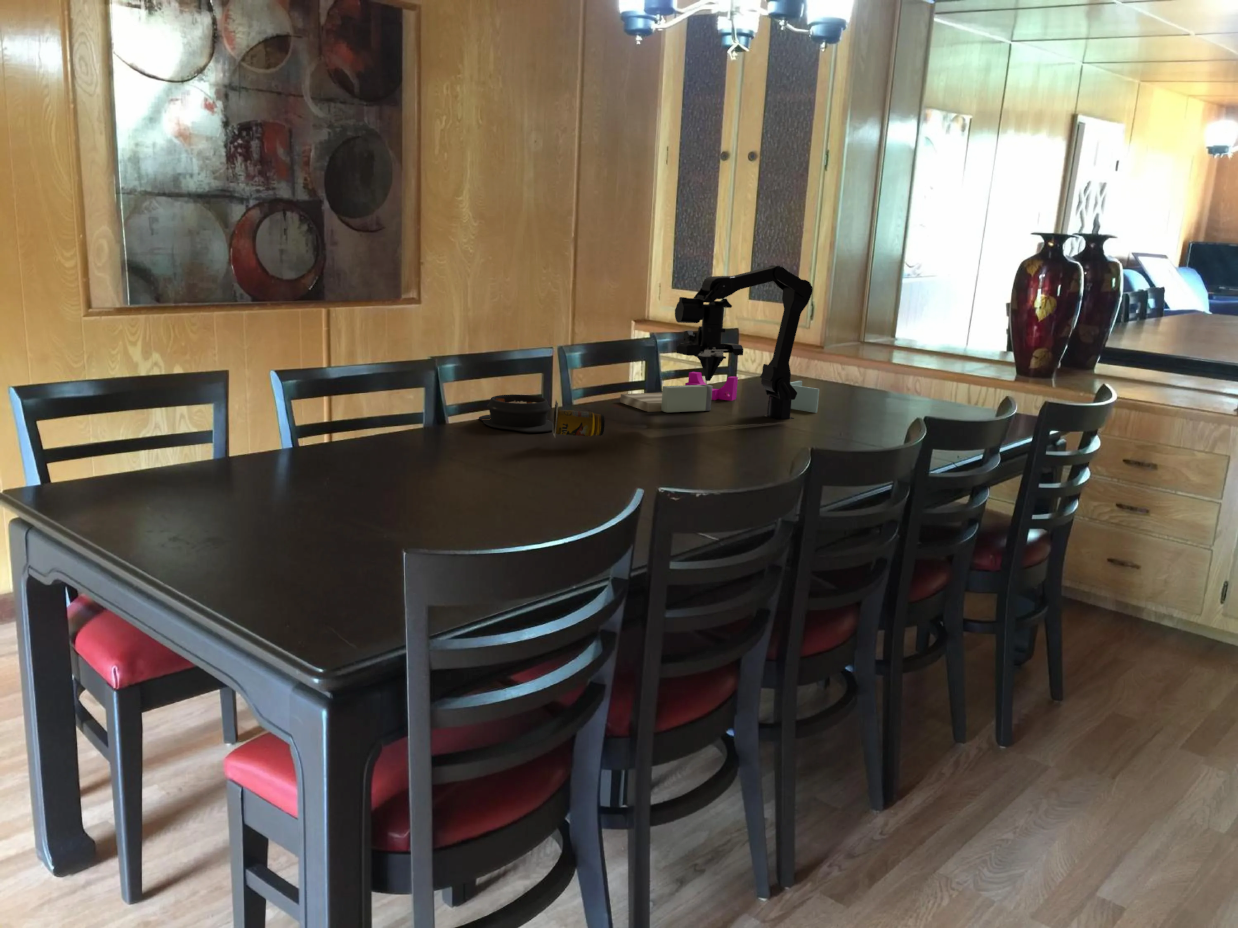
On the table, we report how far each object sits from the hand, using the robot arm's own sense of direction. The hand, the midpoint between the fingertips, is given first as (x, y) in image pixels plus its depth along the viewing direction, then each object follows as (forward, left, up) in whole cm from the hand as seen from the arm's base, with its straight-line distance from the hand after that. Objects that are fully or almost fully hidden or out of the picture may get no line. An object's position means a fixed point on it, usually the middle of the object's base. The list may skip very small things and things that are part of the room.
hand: (707, 380), depth 268 cm
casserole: (+15, +50, -15) cm, 54 cm away
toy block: (+29, -22, -11) cm, 38 cm away
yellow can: (-11, +52, -6) cm, 54 cm away
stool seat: (+20, +1, -10) cm, 22 cm away
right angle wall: (+7, -42, -11) cm, 44 cm away
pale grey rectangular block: (+10, -7, -10) cm, 16 cm away
